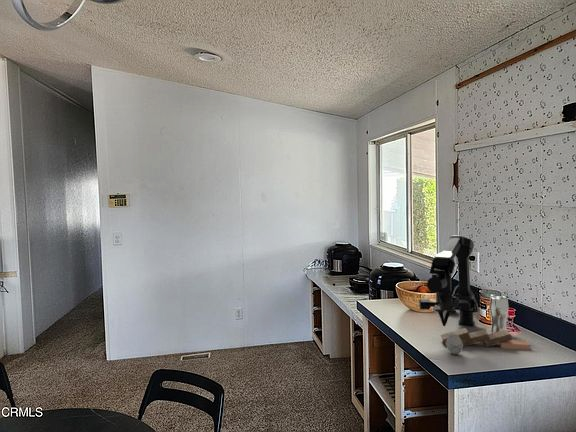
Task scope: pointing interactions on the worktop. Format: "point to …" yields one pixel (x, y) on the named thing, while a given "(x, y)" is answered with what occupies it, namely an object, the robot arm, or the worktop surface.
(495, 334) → the domino
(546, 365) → the worktop surface
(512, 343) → the loose domino
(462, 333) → the domino
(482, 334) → the domino
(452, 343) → the grey faceted rock
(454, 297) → the mate gourd
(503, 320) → the beer glass
